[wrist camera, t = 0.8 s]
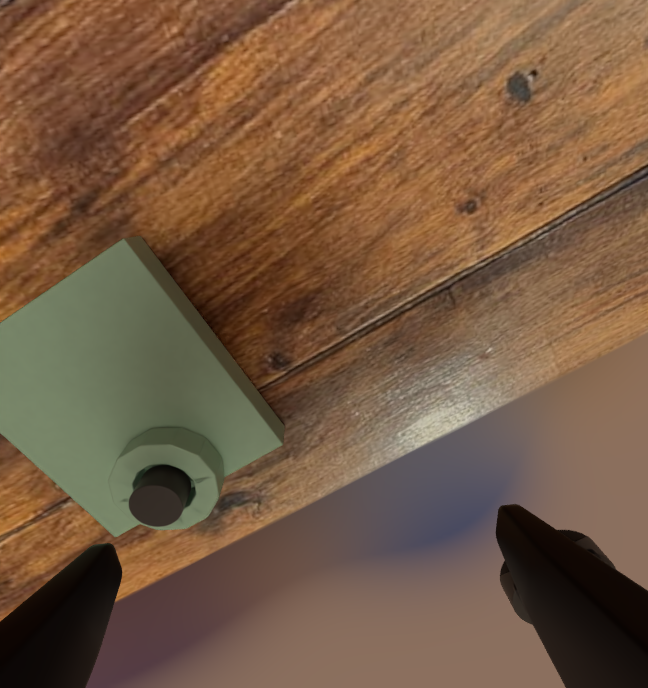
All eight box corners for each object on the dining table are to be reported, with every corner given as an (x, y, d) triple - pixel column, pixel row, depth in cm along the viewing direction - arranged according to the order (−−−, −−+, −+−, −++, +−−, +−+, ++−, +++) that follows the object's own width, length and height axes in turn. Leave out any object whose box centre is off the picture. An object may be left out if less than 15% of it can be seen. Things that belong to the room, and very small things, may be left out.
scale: (291, 435, 23) (290, 473, 19) (136, 521, 24) (110, 569, 21) (140, 235, 18) (105, 240, 15) (-37, 355, 20) (-104, 384, 17)
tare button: (201, 490, 20) (193, 512, 18) (162, 511, 20) (152, 535, 19) (170, 456, 19) (159, 476, 18) (130, 479, 19) (116, 501, 18)
